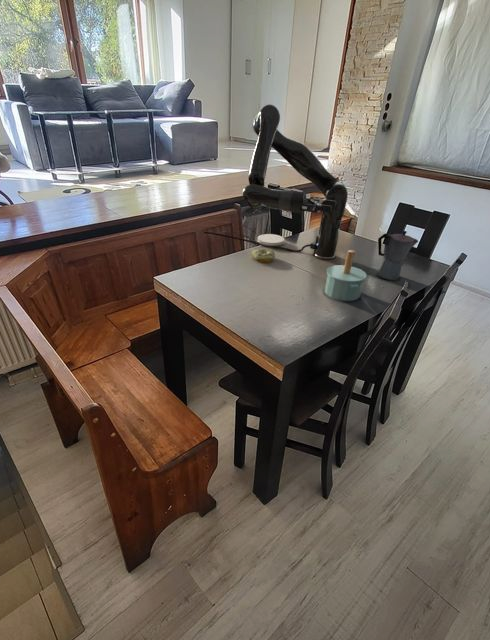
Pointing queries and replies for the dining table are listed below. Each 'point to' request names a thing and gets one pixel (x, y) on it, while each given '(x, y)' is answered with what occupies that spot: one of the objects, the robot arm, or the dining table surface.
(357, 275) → the pot lid
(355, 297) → the pot
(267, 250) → the decorated donut
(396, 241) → the moka pot
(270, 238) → the plastic lid
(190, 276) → the dining table surface
